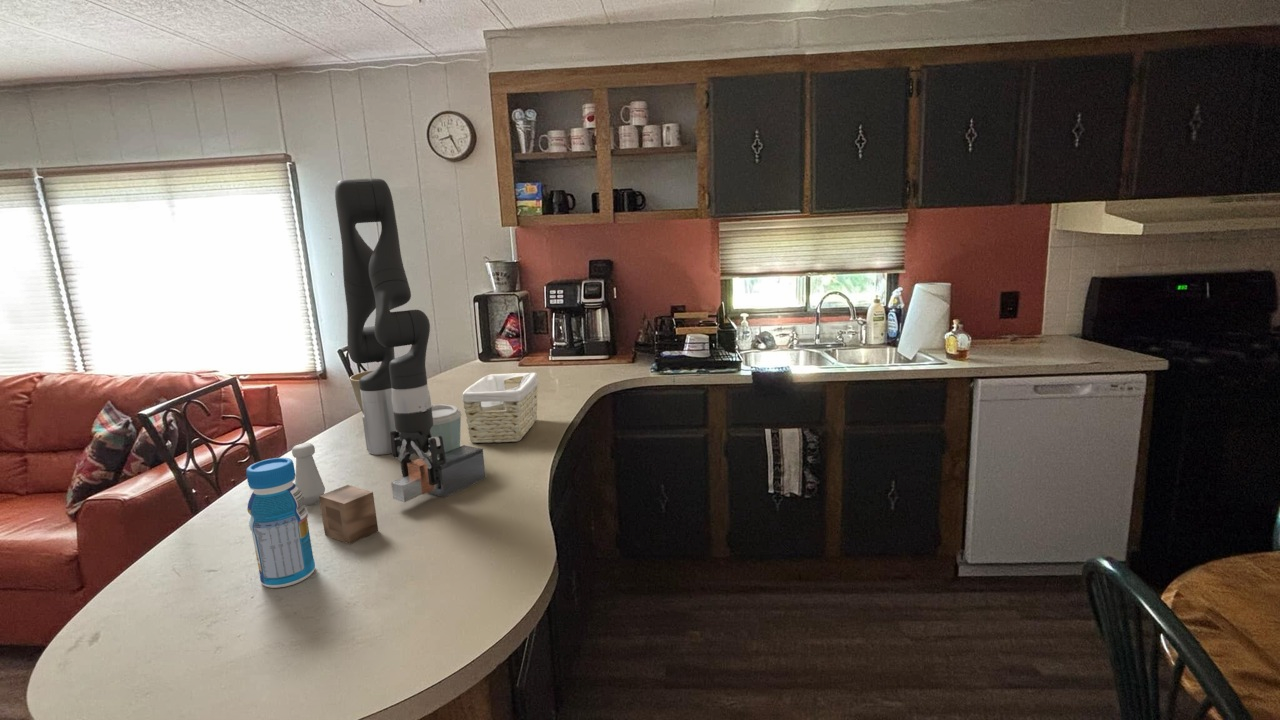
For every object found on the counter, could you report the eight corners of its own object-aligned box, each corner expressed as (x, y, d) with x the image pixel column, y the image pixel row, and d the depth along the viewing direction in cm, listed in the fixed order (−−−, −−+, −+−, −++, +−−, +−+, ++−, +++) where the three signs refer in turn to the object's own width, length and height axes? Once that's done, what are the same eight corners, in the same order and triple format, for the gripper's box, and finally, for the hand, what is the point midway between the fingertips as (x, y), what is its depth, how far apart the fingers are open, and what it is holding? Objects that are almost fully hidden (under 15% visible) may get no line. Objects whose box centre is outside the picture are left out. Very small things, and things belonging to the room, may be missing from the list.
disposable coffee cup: (475, 466, 155) (469, 407, 152) (435, 480, 148) (428, 418, 145) (452, 457, 162) (445, 400, 159) (412, 470, 155) (405, 410, 152)
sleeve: (467, 473, 151) (463, 445, 149) (485, 478, 147) (482, 448, 146) (425, 492, 141) (421, 461, 139) (444, 497, 138) (441, 466, 136)
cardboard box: (353, 522, 127) (347, 484, 126) (378, 530, 123) (372, 491, 122) (325, 535, 122) (318, 495, 121) (350, 544, 118) (344, 503, 117)
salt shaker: (332, 498, 140) (323, 441, 137) (309, 509, 135) (300, 450, 132) (314, 495, 142) (305, 439, 140) (290, 505, 137) (281, 447, 135)
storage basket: (490, 420, 195) (486, 372, 192) (543, 418, 194) (539, 371, 191) (464, 446, 171) (459, 392, 168) (524, 444, 170) (519, 391, 167)
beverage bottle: (277, 595, 102) (256, 477, 98) (249, 582, 107) (228, 468, 103) (327, 570, 109) (309, 459, 105) (299, 559, 114) (281, 452, 110)
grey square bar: (469, 465, 150) (466, 440, 148) (481, 468, 148) (478, 442, 146) (392, 499, 132) (388, 470, 131) (405, 502, 130) (401, 473, 129)
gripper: (375, 407, 133) (385, 481, 136) (419, 415, 126) (429, 492, 129) (405, 399, 139) (414, 469, 143) (449, 405, 132) (458, 479, 135)
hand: (421, 480), depth 136 cm, fingers open, 8 cm apart
